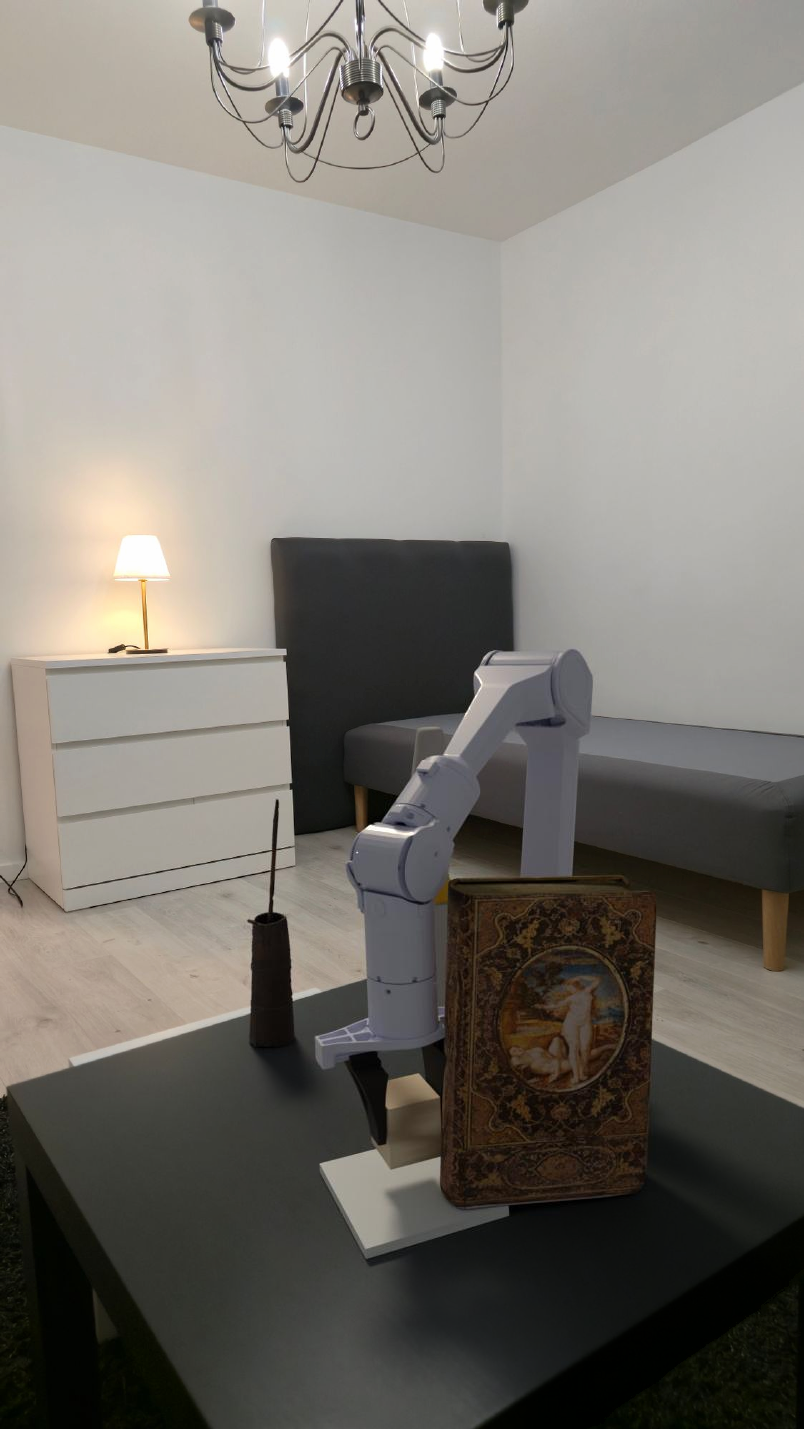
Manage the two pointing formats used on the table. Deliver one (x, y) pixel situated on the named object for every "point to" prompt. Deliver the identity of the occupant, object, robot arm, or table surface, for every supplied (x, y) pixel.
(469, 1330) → the table surface
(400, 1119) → the birch block
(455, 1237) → the table surface
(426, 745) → the lava lamp
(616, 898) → the book
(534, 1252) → the table surface
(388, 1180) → the pad
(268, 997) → the butter churn
